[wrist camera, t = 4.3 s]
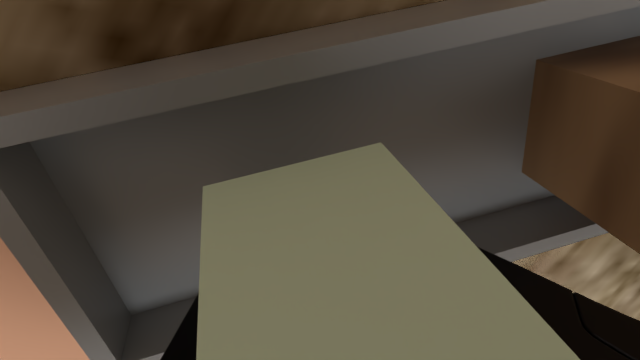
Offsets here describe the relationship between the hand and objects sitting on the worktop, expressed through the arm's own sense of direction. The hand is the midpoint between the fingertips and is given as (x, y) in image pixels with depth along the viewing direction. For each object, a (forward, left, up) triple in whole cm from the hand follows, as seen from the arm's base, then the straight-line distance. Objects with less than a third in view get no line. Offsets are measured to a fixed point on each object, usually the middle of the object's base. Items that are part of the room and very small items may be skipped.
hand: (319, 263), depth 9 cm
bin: (-3, 0, -4) cm, 6 cm away
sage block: (0, 0, -1) cm, 1 cm away
